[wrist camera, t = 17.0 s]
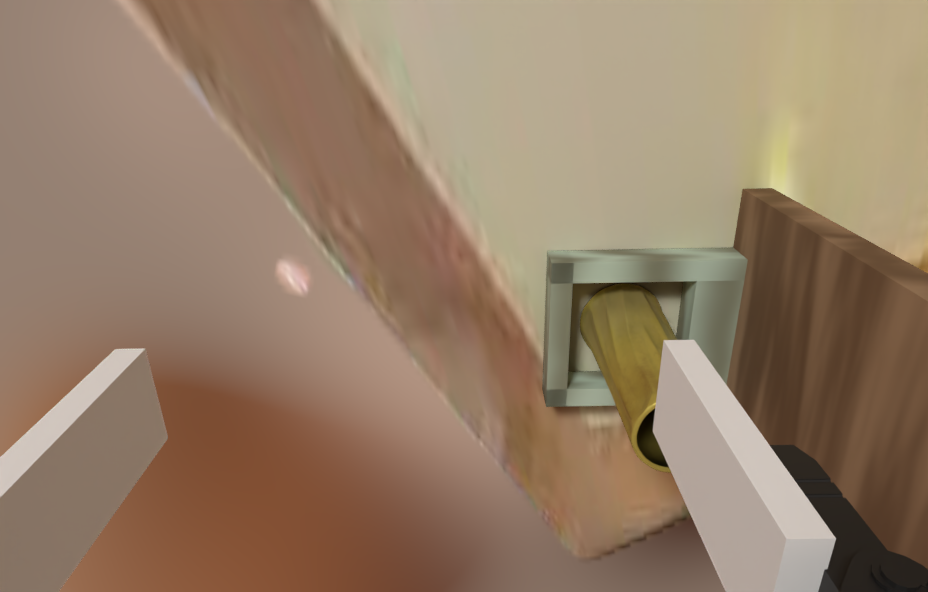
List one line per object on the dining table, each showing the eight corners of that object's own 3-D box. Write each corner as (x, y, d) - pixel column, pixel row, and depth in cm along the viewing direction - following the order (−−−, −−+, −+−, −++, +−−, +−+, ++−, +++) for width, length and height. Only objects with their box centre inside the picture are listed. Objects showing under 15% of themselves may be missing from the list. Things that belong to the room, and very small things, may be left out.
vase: (672, 291, 46) (754, 398, 33) (646, 362, 49) (712, 488, 36) (592, 275, 46) (644, 377, 33) (569, 348, 48) (609, 470, 35)
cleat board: (540, 433, 51) (597, 743, 29) (549, 192, 43) (636, 370, 21) (728, 430, 51) (927, 739, 29) (772, 188, 43) (1090, 362, 21)
